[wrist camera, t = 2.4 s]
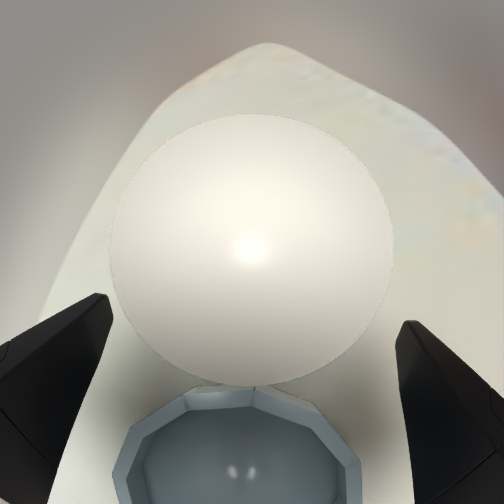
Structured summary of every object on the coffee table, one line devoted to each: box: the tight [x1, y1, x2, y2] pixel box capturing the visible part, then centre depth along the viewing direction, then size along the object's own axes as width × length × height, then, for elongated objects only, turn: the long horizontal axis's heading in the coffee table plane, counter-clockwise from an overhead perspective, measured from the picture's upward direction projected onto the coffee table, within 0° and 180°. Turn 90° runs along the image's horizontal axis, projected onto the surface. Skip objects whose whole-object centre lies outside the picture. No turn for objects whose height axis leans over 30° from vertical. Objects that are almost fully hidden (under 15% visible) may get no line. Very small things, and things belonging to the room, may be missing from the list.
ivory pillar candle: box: [109, 114, 394, 387], centre depth 12 cm, size 5×5×13 cm
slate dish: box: [112, 384, 362, 504], centre depth 13 cm, size 13×13×3 cm
